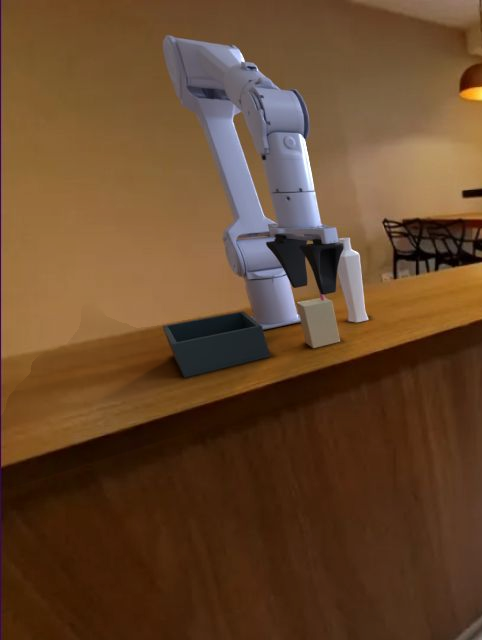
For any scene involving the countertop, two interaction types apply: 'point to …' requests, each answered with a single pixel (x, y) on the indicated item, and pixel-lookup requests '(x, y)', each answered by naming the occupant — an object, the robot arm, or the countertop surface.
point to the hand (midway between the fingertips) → (313, 289)
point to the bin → (216, 342)
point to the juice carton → (318, 321)
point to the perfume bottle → (352, 282)
